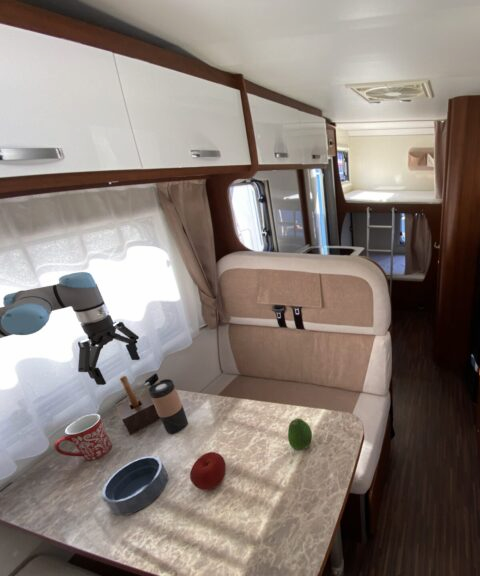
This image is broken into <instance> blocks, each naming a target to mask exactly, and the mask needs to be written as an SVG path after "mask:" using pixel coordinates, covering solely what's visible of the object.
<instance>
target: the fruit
mask: <svg viewBox="0 0 480 576" xmlns="http://www.w3.org/2000/svg"><path fill="white" fill-rule="evenodd" d="M287 439H288V443H289V446H290V447H291V448H292V449H294V450H296V451H301V450H304V449H306V448H307V447H308V446H310V444H311V441H312V439H313V433H312V429H311V426H310V425H309V424H308V423H307V422H306V421H305V420H303V419H302V418H294V419H293V420H291V421H290V423H289V425H288V431H287Z"/></svg>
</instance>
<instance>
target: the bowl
mask: <svg viewBox="0 0 480 576" xmlns="http://www.w3.org/2000/svg"><path fill="white" fill-rule="evenodd" d="M168 479H169V473H168V472H167V470H166V468H165V466H164V464H163V461H162V460H161V458H160V457H158V456H155V455H146V456H142V457H139V458H137V459H136V458H135V459H134V460H131V461H130V462H127V464H124V465H123V466H122V467H121V468H119V469H118V470H117V471H115V472H114V473H113V474H112V475H111V476H110V477H109V478H108V479H107V480H106V482H105V484H104V485H103V487H102V491H101V498H102V500H103V502H104V504H105V505H106V507H107V508H108V511H109V512H110V513H112V514H113V515H115V516H127V515H130V514H131V515H132V514H133V513H136V512H137V511H140V510H142V509H144V508H145V507H146V506H148V505H149V504H151V503H152V502H153V501H154V500H155V499H157V498H158V496H159V495H160V494H161V492H162V491H163V490H164V489H165V487H166V485H167V483H168Z"/></svg>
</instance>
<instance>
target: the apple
mask: <svg viewBox="0 0 480 576" xmlns="http://www.w3.org/2000/svg"><path fill="white" fill-rule="evenodd" d="M226 466H227V465H226V460H225V458H224V457H223V456H222V454H220V453H218V452H217V451H216V452H215V451H209V452H206V453H204V454H202V455H201V456H200V457H198V458H197V459H196V460H195V461H194V463H193V464H192V466H191V469H190V471H189V478H190V481H191V483H192V485H193V486H194V487H196V489H198V490H201V491H210V490H213V489H215V488H217V487H218V486H219V485H221V484H222V482H223V481H224V479H225V476H226V471H227V468H226Z"/></svg>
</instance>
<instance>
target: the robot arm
mask: <svg viewBox="0 0 480 576" xmlns="http://www.w3.org/2000/svg"><path fill="white" fill-rule="evenodd" d="M2 300H3V301H2V303H3V306H1V307H0V339H2V338H6V337H10V336H13V335H14V336H28V335H32V334H36V333H38V332H39V331H40V330H42V329H43V328H44V327H45V326H46V325H47V323H48V322H49V320H50V316H51V314H52V312H54V311H58V310H61V309H67V308H72V310H73V313H74V315H75V317H76V318H77V321H78V322H79V323H80V327H81V329H82V331H83V332H84V334H86V335H87V339H84V340H79V341H78V342H77V345H78V348H79V350H78V351H79V352H78V365H77V366H78V367H77V372H78V373H87V374H88V375H89V377H90V379H93V380H94V382H95V384H96V385H97V386H105V385H106V384H107V382H106V380H105V377H104V376H103V374H102V371H101V370H100V367H97V363H98V361H99V358H100V354H101V351H102V350H103V349H104V346H106V345H108V343H110V342H113V341H114V340H116V341H119V342H122V343H125V348H126V350H127V352H128V355H129V356H130V359H131V360H132V361H140V360H141V358H140V355H139V353H138V347H137V344H138V340H140V336H139V335H138V334H136V333H135V332H133V331H132V330H131V329H130V328H128V327H127V326H126V325H125V323H124V322H123V321H113V319H112V316H111V315H110V311H109V309H108V307H107V305H106V303H105V301H104V298H103V296H102V293H101V290H100V288H99V286H98V284H97V283H96V280H95V279H94V276H93V275H92V274H91V273H90V272H87V271H79V272H73V273H69V274H65V275H62V276H60V277H59V278H58V283H56V284H52V285H46V286H41V287H37V288H30V289H24V290H23V289H22V290H18V291H16V292H11V293H7V294H5V295H4V296H3V298H2ZM116 331H119V333H118V332H117V333H116ZM120 333H122V334H123V335H121V334H120ZM124 335H125V336H124Z"/></svg>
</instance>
